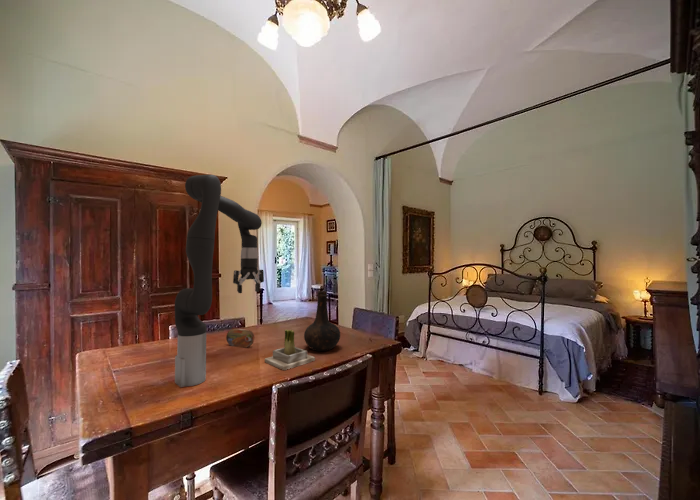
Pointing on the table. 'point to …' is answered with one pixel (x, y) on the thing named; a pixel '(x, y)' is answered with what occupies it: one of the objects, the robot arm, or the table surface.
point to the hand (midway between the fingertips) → (248, 292)
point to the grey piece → (289, 359)
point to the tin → (240, 338)
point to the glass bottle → (322, 328)
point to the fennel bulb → (289, 343)
